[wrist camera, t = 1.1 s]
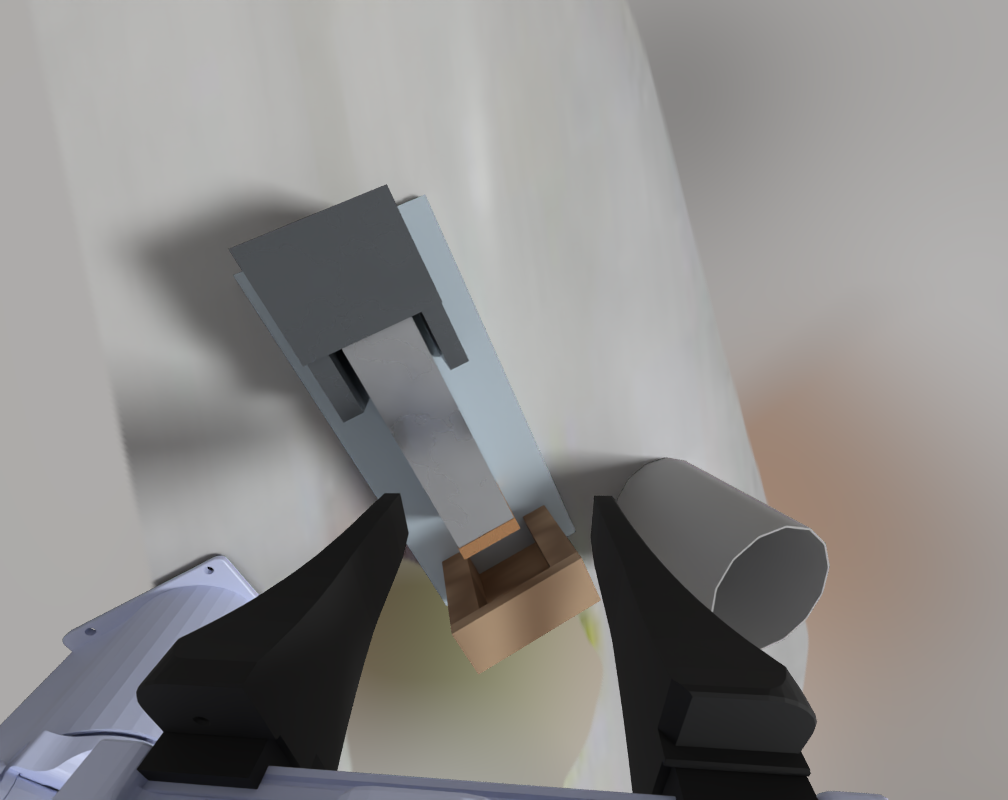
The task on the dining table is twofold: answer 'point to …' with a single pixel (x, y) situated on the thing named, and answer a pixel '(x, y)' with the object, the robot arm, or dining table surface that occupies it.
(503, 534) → the bar
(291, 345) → the sleeve
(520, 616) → the socket
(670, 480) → the cup
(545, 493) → the board
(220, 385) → the dining table surface
